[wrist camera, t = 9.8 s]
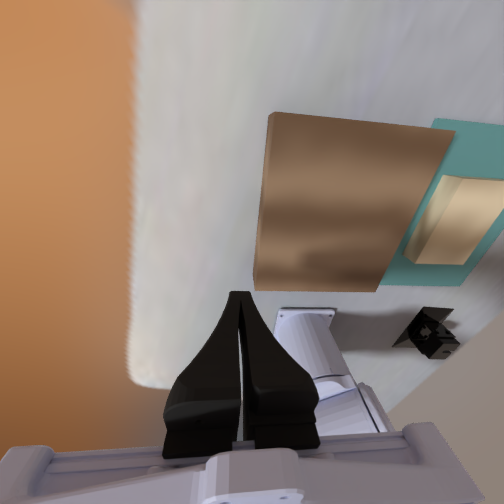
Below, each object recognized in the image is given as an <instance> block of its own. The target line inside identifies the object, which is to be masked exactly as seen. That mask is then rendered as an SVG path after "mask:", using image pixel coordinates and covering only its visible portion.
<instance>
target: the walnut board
mask: <svg viewBox="0 0 504 504" xmlns="http://www.w3.org/2000/svg"><path fill="white" fill-rule="evenodd" d="M455 133H456V131H453V130H444V129H435V128H425V127H416V126H406V125H397V124H387V123H378V122H369V121H359V120H350V119H340V118H331V117H322V116H312V115H303V114H293V113H284V112H273V113H272V114H270V115H269V117H268V127H267V137H266V147H265V157H264V167H263V177H262V187H261V197H260V207H259V217H258V227H257V237H256V247H255V257H254V267H253V280H254V288H255V291H316V292H376V290H377V288H378V286H379V284H380V282H381V280H382V278H383V276H384V274H385V272H386V270H387V268H388V266H389V264H390V262H391V260H392V258H393V256H394V254H395V252H396V250H397V248H398V246H399V244H400V242H401V240H402V238H403V236H404V234H405V232H406V230H407V228H408V226H409V224H410V222H411V220H412V218H413V216H414V214H415V212H416V210H417V208H418V206H419V204H420V202H421V200H422V198H423V196H424V194H425V192H426V190H427V188H428V186H429V184H430V182H431V180H432V178H433V176H434V174H435V172H436V170H437V168H438V166H439V164H440V162H441V161H442V159H443V157H444V155H445V153H446V151H447V149H448V147H449V145H450V143H451V141H452V139H453V137H454V135H455Z"/></svg>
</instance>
